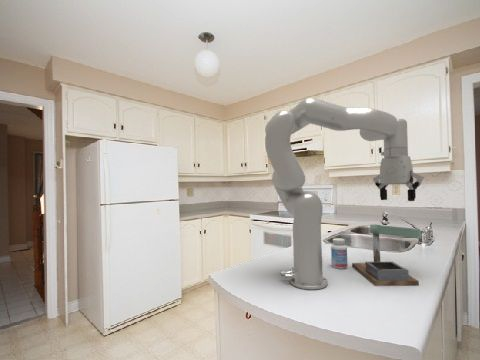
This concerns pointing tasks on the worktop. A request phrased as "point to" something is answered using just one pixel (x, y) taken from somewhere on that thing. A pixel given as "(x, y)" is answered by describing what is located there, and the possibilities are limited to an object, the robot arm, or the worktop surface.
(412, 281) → the walnut board
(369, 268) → the socket
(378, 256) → the post
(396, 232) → the bar
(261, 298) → the worktop surface
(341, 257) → the pill bottle
